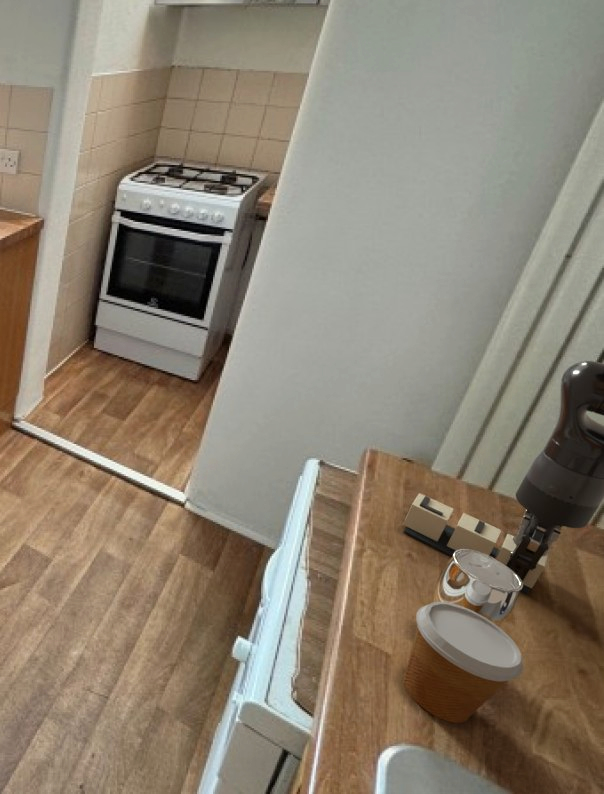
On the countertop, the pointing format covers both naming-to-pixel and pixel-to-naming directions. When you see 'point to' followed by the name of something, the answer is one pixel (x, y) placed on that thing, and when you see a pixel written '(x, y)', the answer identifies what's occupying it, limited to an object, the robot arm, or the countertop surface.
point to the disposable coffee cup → (458, 661)
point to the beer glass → (479, 585)
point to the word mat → (443, 547)
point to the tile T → (504, 557)
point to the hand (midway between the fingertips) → (514, 569)
